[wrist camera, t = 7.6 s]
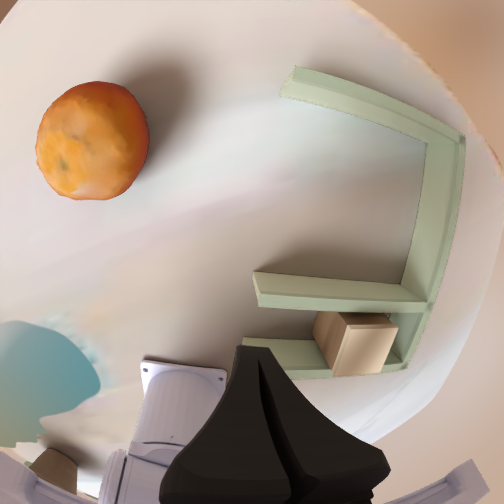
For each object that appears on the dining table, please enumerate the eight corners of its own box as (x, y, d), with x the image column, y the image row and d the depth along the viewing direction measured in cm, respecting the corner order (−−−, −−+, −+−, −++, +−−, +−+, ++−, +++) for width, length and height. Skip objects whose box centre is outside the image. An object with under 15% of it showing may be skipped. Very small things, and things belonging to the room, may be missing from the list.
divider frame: (384, 344, 25) (406, 369, 20) (241, 344, 23) (245, 378, 18) (432, 138, 19) (465, 136, 15) (280, 87, 17) (295, 65, 13)
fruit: (185, 82, 15) (126, 114, 10) (160, 172, 21) (114, 237, 15) (93, 62, 14) (16, 93, 8) (83, 147, 19) (24, 199, 14)
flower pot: (50, 462, 28) (37, 496, 19) (25, 431, 25) (6, 468, 16) (97, 480, 30) (87, 518, 20) (76, 451, 27) (60, 496, 17)
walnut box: (363, 294, 23) (398, 327, 17) (351, 333, 24) (379, 372, 18) (321, 292, 22) (350, 329, 16) (311, 334, 23) (333, 377, 17)
